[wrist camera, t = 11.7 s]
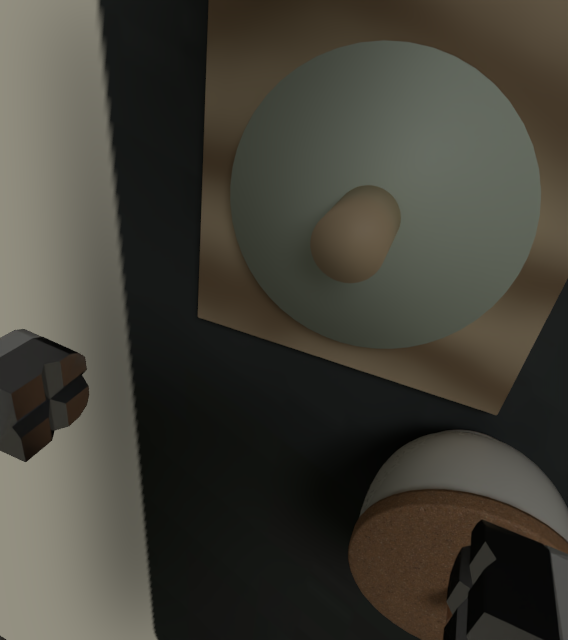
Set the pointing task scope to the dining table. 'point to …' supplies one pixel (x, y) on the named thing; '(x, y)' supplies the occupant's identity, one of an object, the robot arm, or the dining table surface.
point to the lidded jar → (444, 520)
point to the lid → (385, 194)
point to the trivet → (429, 30)
